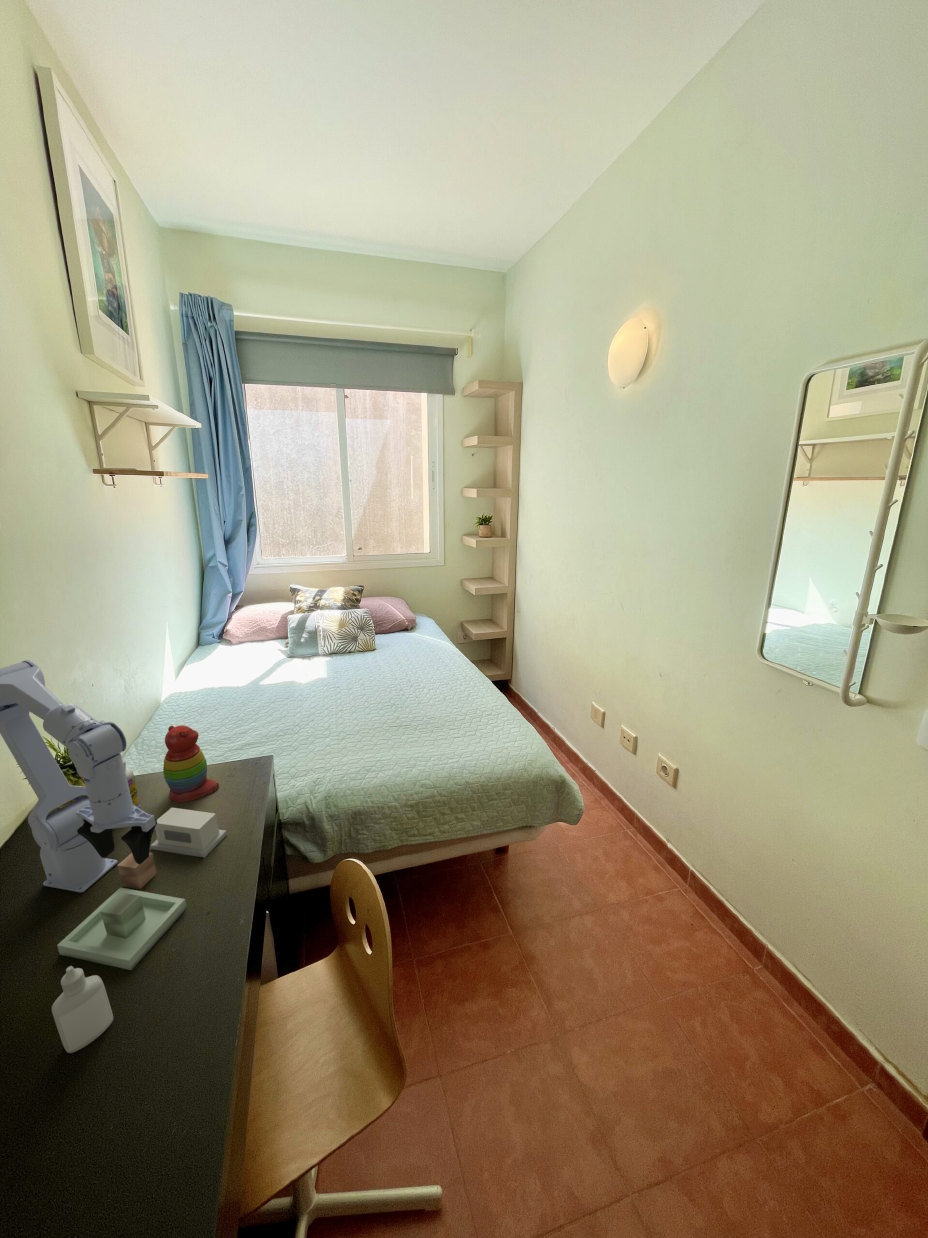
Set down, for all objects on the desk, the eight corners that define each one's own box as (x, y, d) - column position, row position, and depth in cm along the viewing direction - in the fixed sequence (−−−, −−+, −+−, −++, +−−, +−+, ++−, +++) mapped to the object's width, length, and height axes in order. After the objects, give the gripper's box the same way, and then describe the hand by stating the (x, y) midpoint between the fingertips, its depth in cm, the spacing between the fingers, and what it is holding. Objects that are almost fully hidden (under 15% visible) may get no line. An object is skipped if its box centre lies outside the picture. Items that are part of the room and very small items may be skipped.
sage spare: (106, 934, 84) (100, 911, 82) (126, 915, 88) (120, 892, 86) (126, 938, 83) (120, 915, 82) (145, 918, 87) (140, 896, 85)
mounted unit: (151, 849, 104) (145, 825, 102) (176, 827, 111) (171, 804, 109) (204, 857, 101) (199, 833, 100) (227, 834, 108) (222, 811, 106)
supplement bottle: (128, 820, 113) (116, 771, 109) (100, 820, 113) (87, 772, 110) (147, 802, 119) (136, 755, 116) (120, 802, 120) (108, 755, 116)
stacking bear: (222, 787, 125) (211, 724, 120) (181, 809, 117) (167, 742, 112) (200, 773, 131) (189, 713, 126) (160, 793, 123) (146, 729, 118)
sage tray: (60, 954, 81) (57, 945, 80) (122, 896, 92) (120, 887, 92) (131, 970, 78) (128, 960, 78) (186, 908, 89) (184, 899, 89)
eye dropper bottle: (110, 1039, 69) (90, 973, 65) (60, 1059, 66) (37, 992, 63) (116, 1010, 72) (98, 946, 69) (69, 1027, 70) (48, 963, 67)
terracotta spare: (122, 886, 95) (117, 865, 93) (139, 870, 98) (134, 850, 97) (140, 889, 94) (135, 868, 92) (156, 873, 98) (152, 853, 96)
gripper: (52, 802, 83) (71, 867, 87) (124, 812, 80) (141, 880, 84) (90, 777, 90) (107, 840, 93) (158, 786, 87) (172, 850, 90)
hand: (125, 857), depth 89 cm, fingers open, 7 cm apart
